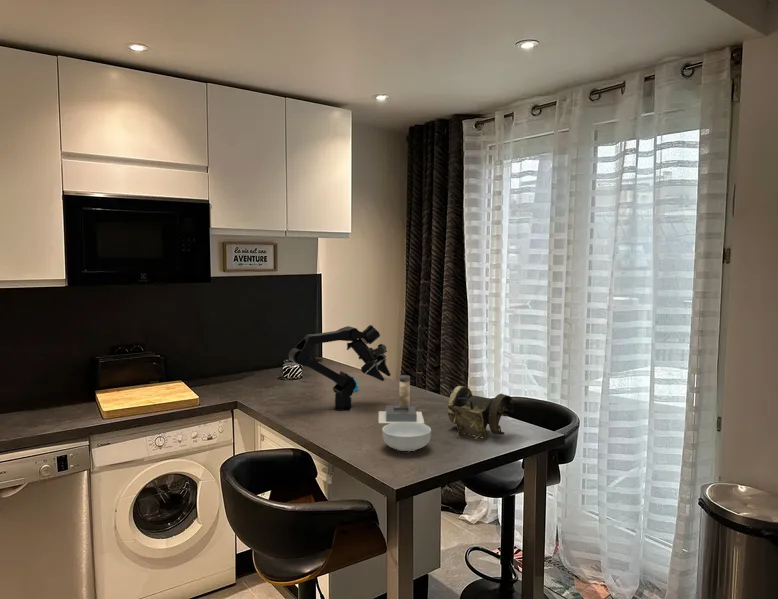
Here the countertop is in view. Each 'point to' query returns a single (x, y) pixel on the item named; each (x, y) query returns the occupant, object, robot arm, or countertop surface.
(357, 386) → the gear
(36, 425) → the countertop surface
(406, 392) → the beige tall cylinder
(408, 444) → the cereal bowl
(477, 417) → the bench grinder
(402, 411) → the housing
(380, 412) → the board
